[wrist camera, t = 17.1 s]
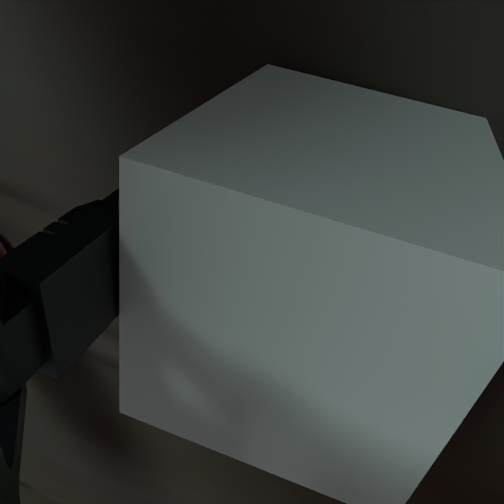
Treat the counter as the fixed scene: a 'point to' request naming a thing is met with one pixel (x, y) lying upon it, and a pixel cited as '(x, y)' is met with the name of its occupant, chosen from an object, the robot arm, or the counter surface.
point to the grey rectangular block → (313, 280)
